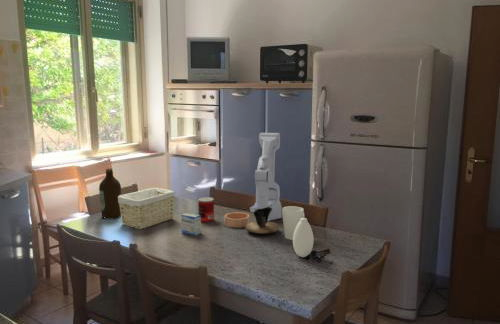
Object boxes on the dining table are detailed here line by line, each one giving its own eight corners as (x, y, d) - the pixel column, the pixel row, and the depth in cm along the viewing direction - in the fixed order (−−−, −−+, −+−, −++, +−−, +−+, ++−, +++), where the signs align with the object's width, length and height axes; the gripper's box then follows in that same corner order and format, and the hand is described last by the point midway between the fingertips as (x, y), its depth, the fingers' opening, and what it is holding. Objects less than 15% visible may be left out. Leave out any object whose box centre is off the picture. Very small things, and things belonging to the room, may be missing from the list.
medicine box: (181, 233, 193) (180, 214, 192) (187, 230, 197) (186, 212, 196) (195, 235, 190) (195, 217, 188) (201, 233, 193) (200, 214, 192)
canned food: (215, 218, 217) (215, 197, 215) (212, 222, 209) (212, 201, 207) (200, 217, 217) (200, 196, 216) (197, 222, 210) (196, 200, 208)
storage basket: (139, 231, 196) (138, 200, 194) (117, 225, 205) (115, 195, 203) (176, 219, 215) (176, 190, 213) (155, 213, 225) (154, 186, 222)
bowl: (239, 218, 216) (239, 211, 215) (254, 224, 206) (254, 216, 206) (220, 222, 209) (220, 215, 208) (234, 229, 199) (234, 220, 199)
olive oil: (119, 212, 226) (117, 166, 222) (124, 217, 217) (121, 169, 213) (99, 215, 221) (96, 168, 217) (102, 220, 212) (99, 171, 208)
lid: (264, 221, 205) (264, 211, 205) (285, 229, 194) (285, 218, 193) (239, 227, 197) (239, 216, 196) (259, 235, 185) (259, 224, 184)
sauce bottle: (299, 251, 171) (300, 208, 168) (316, 255, 166) (317, 211, 163) (288, 256, 165) (289, 212, 162) (306, 261, 160) (307, 215, 158)
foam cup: (301, 241, 182) (302, 212, 180) (280, 240, 184) (280, 211, 182) (303, 234, 192) (304, 206, 190) (283, 233, 193) (283, 205, 191)
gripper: (265, 191, 201) (265, 218, 203) (245, 196, 190) (245, 225, 192) (277, 193, 196) (276, 221, 198) (257, 199, 185) (256, 229, 187)
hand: (262, 223), depth 195 cm, fingers closed on lid, 3 cm apart
